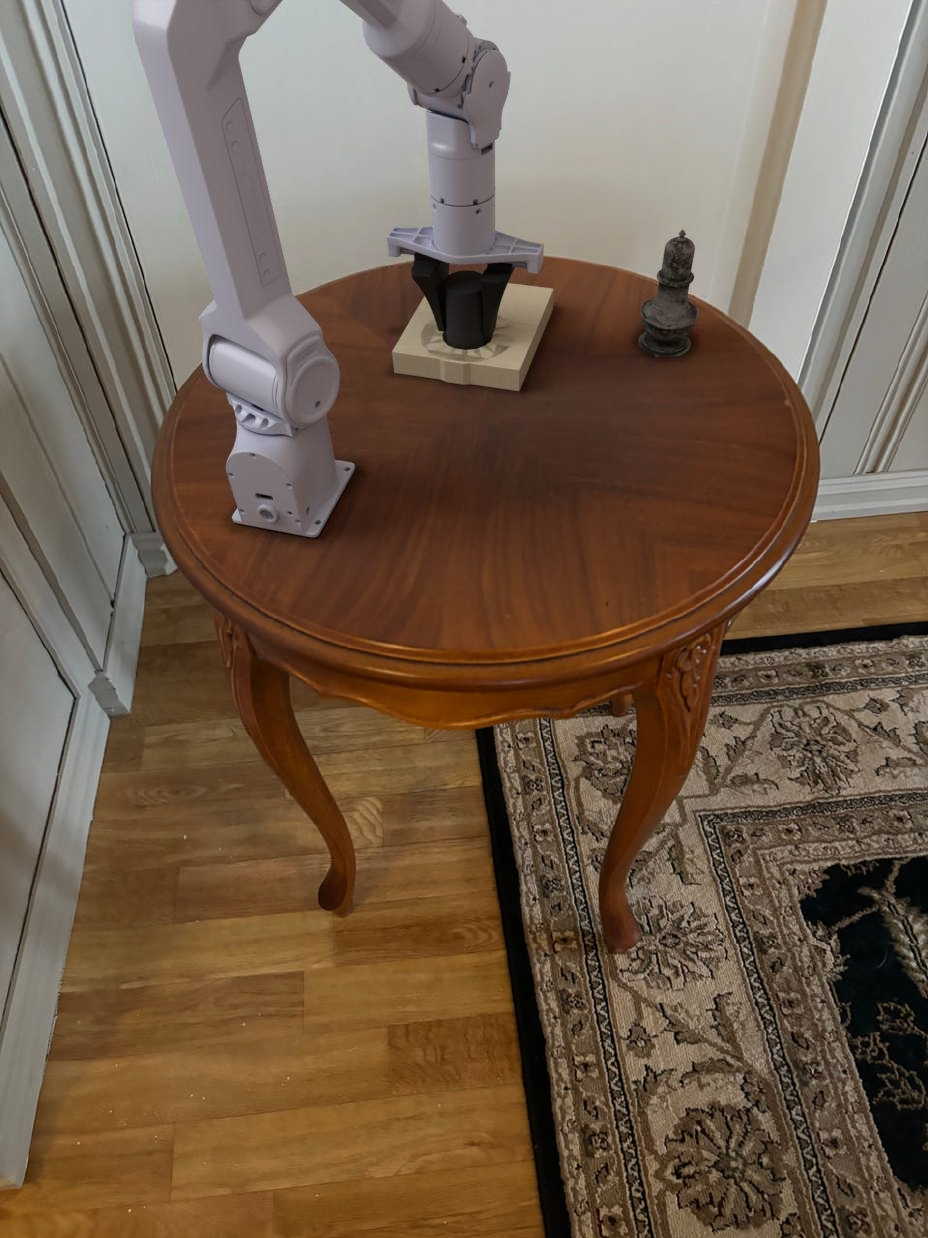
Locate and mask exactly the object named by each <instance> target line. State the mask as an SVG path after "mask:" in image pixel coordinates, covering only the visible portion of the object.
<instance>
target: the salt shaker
mask: <svg viewBox="0 0 928 1238" xmlns="http://www.w3.org/2000/svg"><path fill="white" fill-rule="evenodd" d="M686 235H687V233H686V231H685V230H684V229H681V230H680V231H679V232H678V236H675V237H673V238H670V239H669V240H668V241H666V243H665V245H664V251H663V257H662V264H661V269H660V270H658V271H657V273H656V280H657V281H658V285H657V293H656V295H655V296H654V297H652V298H649V299H647V300H646V301H644V302H643V303H642V304H641V306H640V307H639V315H640V318H641V322H642V325H643V329H644V332H642V334H640V336H639V337H638V346H639V348H640V349H641V350H642V351H643V352H644V353H646V354H648V355H650V356H652V357H654V358H655V357H656V358H659V359H660V358H662V359H674V358H678V357H682V356H683V355H685V354H686V353H687V352H689V350H690V349H691V346H692V345H691V344H692V342H691V340H690V338H689V337H688V335H689V334H690V332H691V330H692V329H693V328H694V326H695V324H696V323H697V322H698V320H699V319H700V311H699V308H698V307H697V306H696V305H695V304H694V302H692V301H690V300H689V296H688V295H689V290H690V285H691V284H692V283H693V281H695V275H694V273H693V272H692V268H693V262H694V257H695V252H696V246H695V243H694V242H693V240H692V239H690V238H688V237H686Z"/></svg>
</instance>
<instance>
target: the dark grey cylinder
mask: <svg viewBox="0 0 928 1238" xmlns="http://www.w3.org/2000/svg"><path fill="white" fill-rule="evenodd" d="M482 274H483V273H481V272H479V271H475V270H470V269H469V270H467V269H465V270H457V271H454V272H451V273H449V275H448V276H447V277H446V278H445V279H444V282H443V283H444V302H445V321H446V339H447V345H448V346H450V347H453V348H455V349H461V350H472V349H478V348H480V347H483V346H485V345H487V344H488V338H486V337H484V334H483V316H484V309H483V299H482V292H481V287H480V278H481V276H482Z"/></svg>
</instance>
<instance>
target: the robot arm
mask: <svg viewBox="0 0 928 1238" xmlns="http://www.w3.org/2000/svg"><path fill="white" fill-rule="evenodd" d="M283 1H284V0H131V26H132V31H133V36H134V41H135V45H136V47H137V52H138V54H139V57H140V61H141V64H142V68H143V71H144V74H145V76H146V80H147V84H148V86H149V90H150V93H151V97H152V100H153V103H154V106H155V110H156V114H157V116H158V120H159V123H160V126H161V130H162V132H163V136H164V139H165V143H166V146H167V149H168V152H169V156H170V158H171V162H172V166H173V168H174V172H175V175H176V179H177V181H178V184H179V188H180V191H181V195H182V198H183V201H184V204H185V208H186V211H187V215H188V218H189V220H190V224H191V227H192V230H193V233H194V237H195V240H196V244H197V247H198V250H199V253H200V257H201V261H202V263H203V266H204V269H205V273H206V276H207V280H208V282H209V286H210V290H211V293H212V296H213V300H212V301H211V302H209V303H208V305H207V306H206V307H205V309H203V311H202V312H201V313H200V315H199V316H198V322H199V326H200V329H201V333H202V334H201V335H202V353H201V364H202V369H203V371H204V372H203V373H204V374H205V376H206V378H207V380H208V381H209V382H210V384H212V385H213V386H214V387H215V388H218V389H220V390H222V391H225V394H226V398H227V401H228V405H230V406H231V407H232V408H233V413H234V415H235V420H236V422H235V423H236V435H235V441H234V444H233V447H232V449H231V451H230V453H229V455H228V458H227V460H226V463H225V472H226V476H227V479H228V483H229V485H230V489H231V492H232V495H233V498H234V501H235V504H236V507H237V508H236V509H235V510H234V512H233V514H232V516H231V519H232V522H233V523H236V524H239V525H245V526H250V527H255V528H260V529H265V530H272V531H277V532H283V533H286V534H292V535H296V536H301V537H307V538H317V537H319V535H320V534H321V532H322V530H323V529H324V526H325V525H326V523H327V521H328V519H329V518H330V516H331V514H332V512H333V511H334V508H335V507H336V506H337V505H336V504H337V503H338V501H339V500H340V498H341V496H342V494H343V492H344V490H345V488H346V486H347V485H348V483H349V481H350V479H351V478H352V476H353V474H354V472H355V470H356V464H355V463H354V462H351V461H345V460H340V459H336V457H335V452H334V451H335V450H334V447H333V442H332V436H331V430H330V425H329V420H328V413H329V412H330V411H331V409H332V408H333V406H334V405H335V403H336V401H337V398H338V394H339V390H340V384H341V383H340V382H341V371H340V366H339V363H338V360H337V358H336V356H335V355H334V354H333V353H332V352H331V351H330V350H329V349H328V347H327V345H326V343H325V339H324V336H323V330H322V328H321V326H320V325H319V324H318V323H317V321H316V319H314V317H313V316H312V315H311V313H310V312H309V311H308V310H307V309H306V308H305V307H304V306H303V305H302V303H301V302H300V301H299V300H298V298H297V297H296V296H295V295H294V293H293V291H292V286H291V282H290V277H289V273H288V269H287V264H286V260H285V256H284V251H283V247H282V243H281V238H280V235H279V230H278V225H277V221H276V216H275V212H274V208H273V202H272V199H271V194H270V190H269V185H268V180H267V178H266V177H267V176H266V173H265V168H264V164H263V160H262V155H261V151H260V146H259V142H258V138H257V133H256V128H255V125H254V120H253V116H252V111H251V106H250V102H249V98H248V95H247V90H246V84H245V82H244V81H245V80H244V76H243V72H242V68H241V63H240V58H239V57H240V52H241V50H242V48H243V46H244V45H245V42H246V40H247V38H248V37H250V36H253V35H255V34H256V33H257V32H258V31H259V30H260V29H261V27H262V26H263V25H264V24H265V23H266V22H267V20H268V19H269V18H270V16H272V14H273V13H274V12H275V10H277V8H278V7H279V5H280V4H281V3H282V2H283ZM339 1H340V3H342V4H343V5H344V6H346V7H347V8H348V9H349V10H351V11H352V12H353V13H354V14H355V15H357V17H359V18H361V21H362V22H361V23H362V34H363V38H364V41H365V44H366V46H367V47H368V48H369V50H370V51H371V52H372V53H373V54H374V55H375V56H376V57H378V58H379V59H380V60H381V61H382V62H383V63H384V64H385V65H387V66H388V67H389V69H391V70H392V71H393V72H394V73H395V74H397V75H398V76H399V77H400V78H401V79H403V81H404V82H406V86H407V92H408V96H409V98H410V101H411V103H412V105H413V106H418V107H419V108H422V109H425V110H426V111H425V126H426V142H427V144H426V145H427V156H428V157H427V158H428V159H427V161H428V173H429V174H428V175H429V190H430V207H431V209H430V210H431V224H432V225H430V226H429V225H428V226H414V227H413V226H411V227H400V226H393V227H392V228H391V230H390V231H389V233H388V234H387V236H386V244H387V253H388V257H393V258H399V257H401V256H402V255H407V256H413V260H414V261H413V265H412V266H411V269H410V275H411V279H412V280H413V281H414V282H415V283H416V285H417V287H418V288H419V289H420V290H421V292H422V294H423V296H425V297H426V299H427V301H428V303H429V305H430V308H431V310H432V313H433V315H434V318H435V321H436V324H437V328H438V331H442V332H445V330H446V321H445V302H444V283H443V282H444V279H445V278H446V277H447V276H448V275H450V265H456V266H457V265H458V266H470V265H471V266H472V265H486V268H485V269H484V270H483V272H482V273H481V274H482V276H481V278H480V287H481V292H482V299H483V309H484V316H483V334H484V337H486V338H491V337H492V335H493V332H494V330H495V328H496V321H497V315H498V311H499V307H500V303H501V300H502V297H503V294H504V291H505V289H506V286H507V284H508V283H509V282H510V279H511V277H512V275H513V273H514V270H515V269H523V270H525V269H526V271H527V273H528V274H533V275H534V274H535V275H538V274H539V273H540V271H541V270H542V267H543V265H544V253H545V252H544V250H545V249H544V248H545V243H540V242H534V241H530V240H526V239H523V238H519V237H516V236H513V235H510V234H507V233H505V232H501V231H498V230H496V140H499V137H500V133H501V132H500V131H501V130H502V117H503V110H504V107H505V104H506V101H507V98H508V95H509V90H510V86H511V75H512V74H511V73H512V72H511V71H508V65H507V61H506V58H505V56H504V55H503V53H502V52H501V51H500V49H499V47H498V46H497V44H496V43H494V42H493V41H491V40H488V39H483V38H479V37H475V36H474V34H473V33H472V32H471V30H470V29H469V28H468V27H467V25H468V21H467V19H466V18H465V17H464V16H463V14H461V13H458V12H456V11H455V12H454V11H452V9H451V8H450V7H449V6H448V5H447V4H446V3H445V2H444V1H443V0H339Z"/></svg>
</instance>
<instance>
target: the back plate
mask: <svg viewBox="0 0 928 1238" xmlns="http://www.w3.org/2000/svg"><path fill="white" fill-rule="evenodd" d="M554 294H555V288H551V287H543V286H536V285H526V284H519V283H509V282H508V284H507V286H506V289H505V291H504V294H503V297H502V300H501V303H500V307H499V311H498V315H497V321H496V328H495V330H494V332H493V335H492V337H491V338H488V344H487V345H485V346H483V347H480V348H478V349H472V350H461V349H455V348H453V347H450V346H448V345H447V339H446V330H445V332H442V331H438V328H437V324H436V321H435V318H434V315H433V313H432V310H431V308H430V305H429V303H428V301H427V299H426V297H425V295H423V298H422V300H421V301H420V303H419V305H418V306H417V308H416V309H415V312H414V313H413V315H412V317H411V318H410V320H409V322H408V324H407V325H406V327H405V328H404V330H403V332H402V334H401V335H400V337H399V339H398V341H397V343H396V344H395V346H394V347H393V349H392V351H391V355H392V364H393V372H394V374H399V375H407V376H414V377H420V378H426V379H433V380H440V381H443V382H446V383H448V384H456V385H462V386H464V385H465V386H467V385H474V386H480V387H487V388H493V389H501V390H507V391H515V392H520V391H521V388H522V386H523V383H524V381H525V379H526V376H527V374H528V371H529V369H530V366H531V364H532V361H533V359H534V356H535V354H536V352H537V350H538V347H539V344H540V342H541V339H542V337H543V335H544V332H545V330H546V327H547V325H548V322H549V320H550V318H551V315H552V312H553V310H554Z"/></svg>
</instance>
